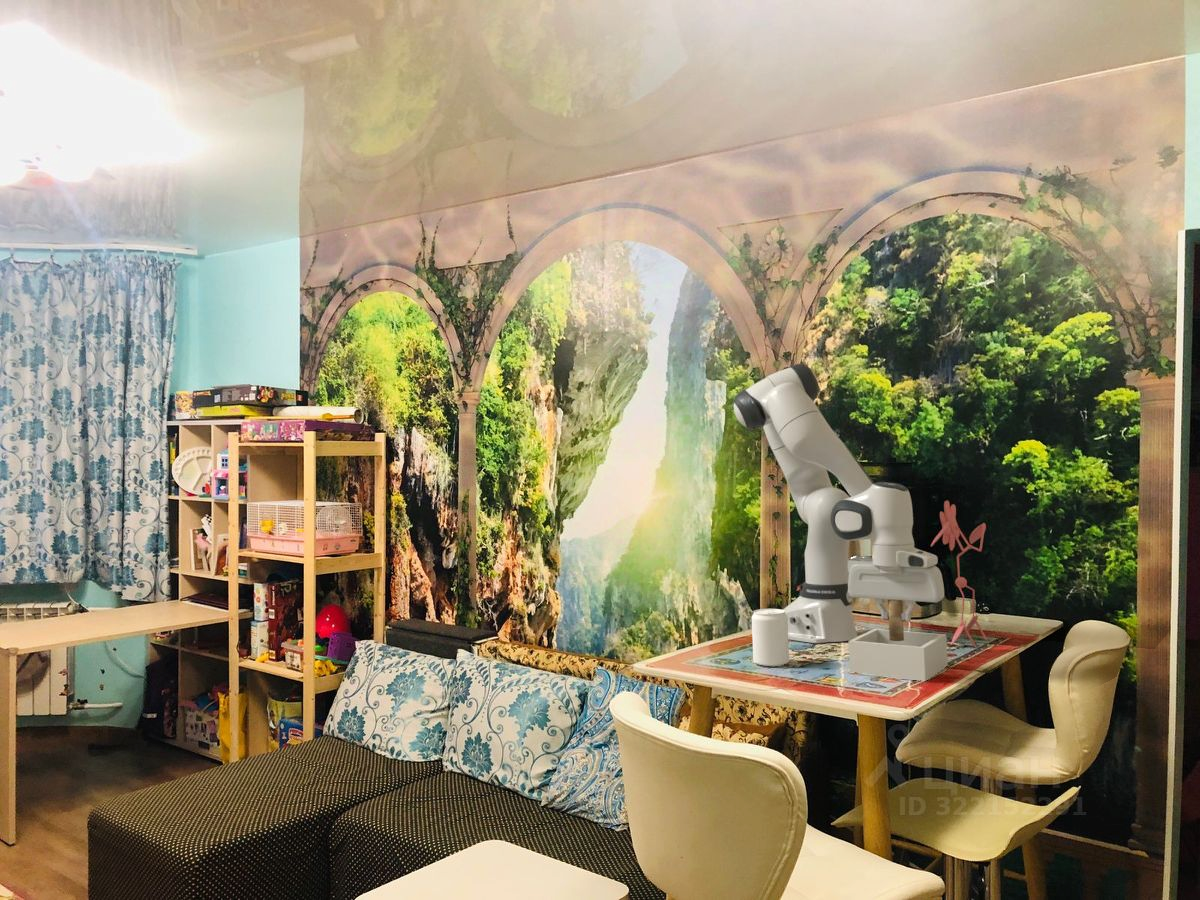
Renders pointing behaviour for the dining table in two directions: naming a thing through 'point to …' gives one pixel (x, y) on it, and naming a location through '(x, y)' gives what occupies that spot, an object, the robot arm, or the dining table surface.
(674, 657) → the dining table surface
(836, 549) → the robot arm
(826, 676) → the dining table surface
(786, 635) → the beverage can
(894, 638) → the peg
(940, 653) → the peg box
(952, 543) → the pink stick figurine
